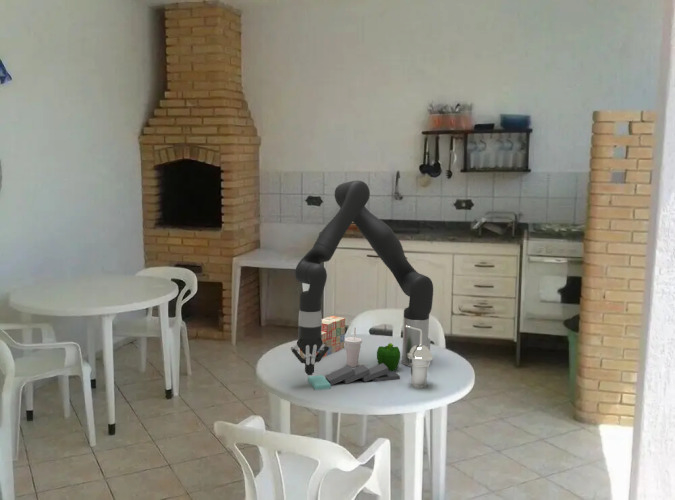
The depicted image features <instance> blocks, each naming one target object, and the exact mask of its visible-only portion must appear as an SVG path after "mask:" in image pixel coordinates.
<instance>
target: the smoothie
mask: <svg viewBox="0 0 675 500" xmlns="http://www.w3.org/2000/svg"><path fill="white" fill-rule="evenodd" d="M356 332H357V331H356V327H354V328H353V336H348V337H345V339H344V342H345V343H344V348H345V355H346V356H345V358H346V364H347V365H349V366H350V367H352V368H356V367H358V365H359V358H360V352H361V345H362V343H363V340H362V338H360V337H356ZM347 365H346V366H347Z"/></svg>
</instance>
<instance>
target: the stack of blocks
mask: <svg viewBox="0 0 675 500" xmlns="http://www.w3.org/2000/svg"><path fill="white" fill-rule="evenodd" d="M345 335H346V318H344V317H341V316H334V315H331V316H327V317H324V318H322V332H321V339H322V341H323V344H324V345H327V346H328V347H329V350H328V351H327V352H326V354H325V355H324V356H323V358H324V357H327V356H329V355H332V354H333V353H336V352H338V351H340V350H341V351H342V350H343V349H345V342H344V339H345V338H346V336H345ZM320 348H321V347H320ZM320 348H319V350H318V351H317V352H316V355H317V354H318V352H319V351H320V350H321V349H320ZM299 355H300V356H301V357H302V358H304V353H303V352H302V351H301V350H300V349H299Z"/></svg>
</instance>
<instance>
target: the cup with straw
mask: <svg viewBox="0 0 675 500" xmlns="http://www.w3.org/2000/svg"><path fill="white" fill-rule="evenodd" d="M406 327H407V328H411V329H414V330H418V331H420V344H418V345H415V346H413V347H412V348H411V350H410V352H409V353H408V355H407V357H408V358H409V362H410V366H409V367H410V377H411V378H410V380H411V386H412V387H414V388H417V389H418V388H422V389H423V388H425V387H426V384H427V378H428V373H429V372H428V371H429V367H430V364H431V361H432V360H433V358H434V356H433V354H432V353H431V349H430V350H429V349H428V348H427V347H426V346H425V345H422V330H421V329H419V328H415V327H411V326H407V325H406Z"/></svg>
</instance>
